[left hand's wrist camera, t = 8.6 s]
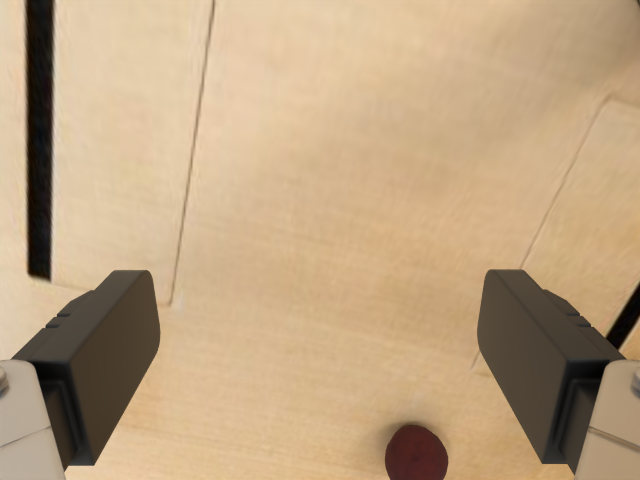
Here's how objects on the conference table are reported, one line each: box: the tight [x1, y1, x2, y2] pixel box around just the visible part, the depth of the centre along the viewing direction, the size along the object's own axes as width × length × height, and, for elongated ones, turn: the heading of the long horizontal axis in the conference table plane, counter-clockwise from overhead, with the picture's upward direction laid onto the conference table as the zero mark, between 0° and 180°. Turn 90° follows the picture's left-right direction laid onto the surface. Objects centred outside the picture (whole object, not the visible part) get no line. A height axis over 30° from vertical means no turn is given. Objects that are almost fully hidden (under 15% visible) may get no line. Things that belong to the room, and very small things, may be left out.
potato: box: [385, 426, 448, 480], centre depth 54 cm, size 7×8×7 cm
